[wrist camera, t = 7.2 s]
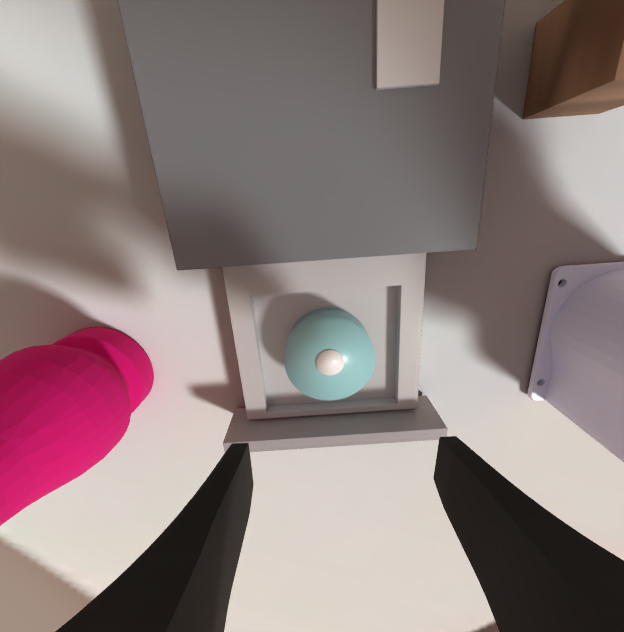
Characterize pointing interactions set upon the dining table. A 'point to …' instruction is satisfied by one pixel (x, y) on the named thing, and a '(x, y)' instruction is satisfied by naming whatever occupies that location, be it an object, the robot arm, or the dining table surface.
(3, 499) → the pepper mill
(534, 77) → the walnut block
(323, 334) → the disc
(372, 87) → the box
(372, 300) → the tray
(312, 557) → the dining table surface
